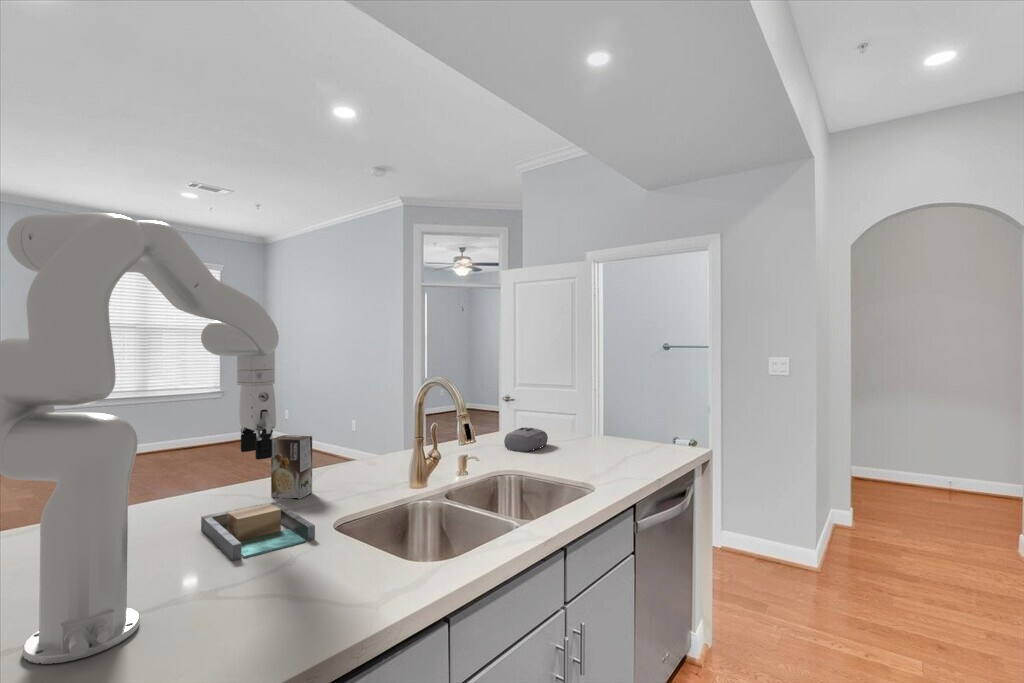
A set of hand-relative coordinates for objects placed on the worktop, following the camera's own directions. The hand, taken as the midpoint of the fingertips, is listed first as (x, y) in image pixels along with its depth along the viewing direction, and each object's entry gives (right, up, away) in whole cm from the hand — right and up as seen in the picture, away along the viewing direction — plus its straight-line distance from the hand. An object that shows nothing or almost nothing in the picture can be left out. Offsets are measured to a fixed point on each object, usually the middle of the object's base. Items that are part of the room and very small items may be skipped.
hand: (256, 454), depth 114 cm
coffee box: (-4, -18, +28) cm, 33 cm away
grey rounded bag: (+63, -19, +97) cm, 117 cm away
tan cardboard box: (0, -17, -1) cm, 17 cm away
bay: (+1, -17, -2) cm, 17 cm away
